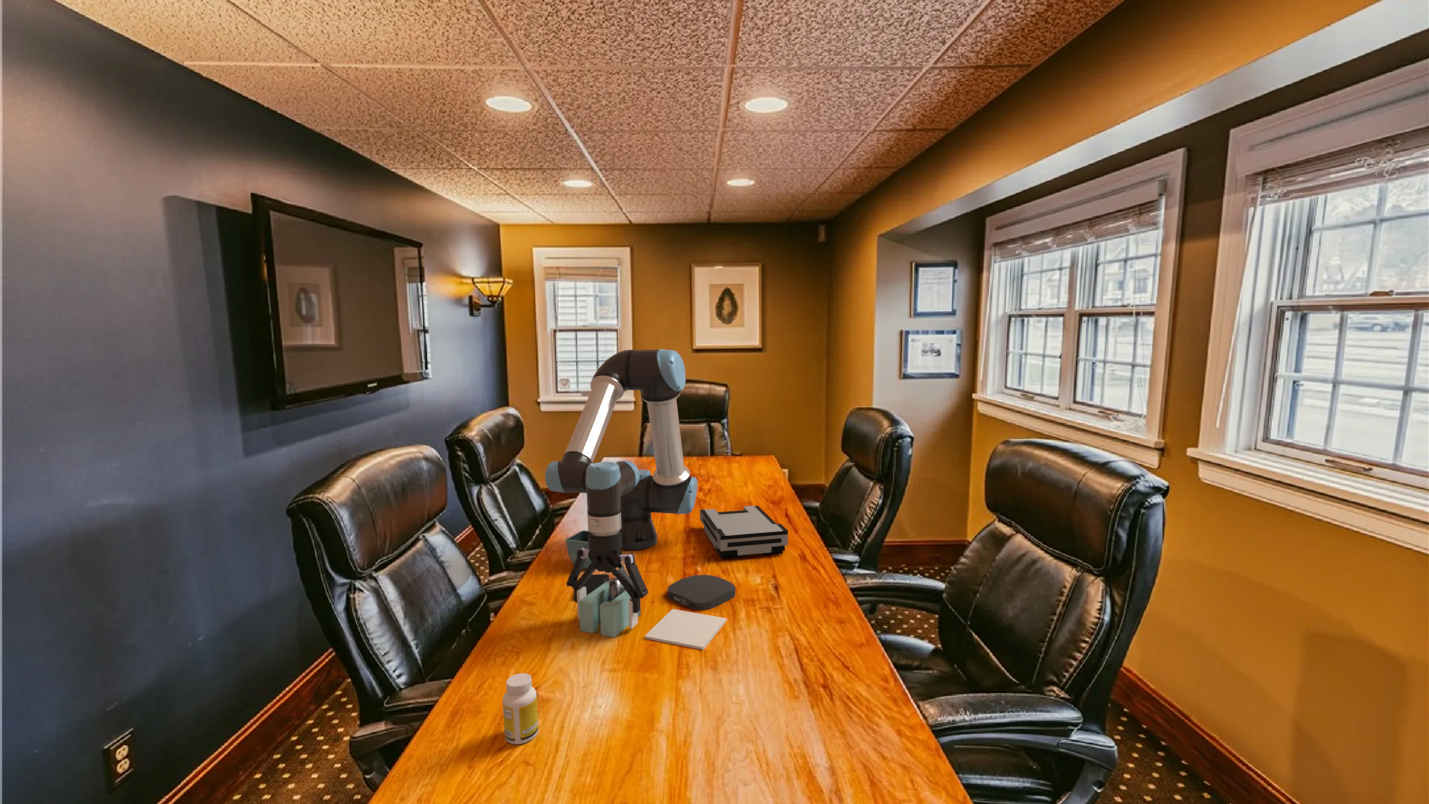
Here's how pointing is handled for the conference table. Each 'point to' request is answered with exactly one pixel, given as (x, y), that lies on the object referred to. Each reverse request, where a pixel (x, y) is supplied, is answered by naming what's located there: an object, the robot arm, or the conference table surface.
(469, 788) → the conference table surface
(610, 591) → the grey cylinder
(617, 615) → the green u-shaped block
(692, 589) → the media streaming box
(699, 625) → the mat
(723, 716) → the conference table surface
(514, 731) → the supplement bottle
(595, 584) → the phone
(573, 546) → the flower pot
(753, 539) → the game console
